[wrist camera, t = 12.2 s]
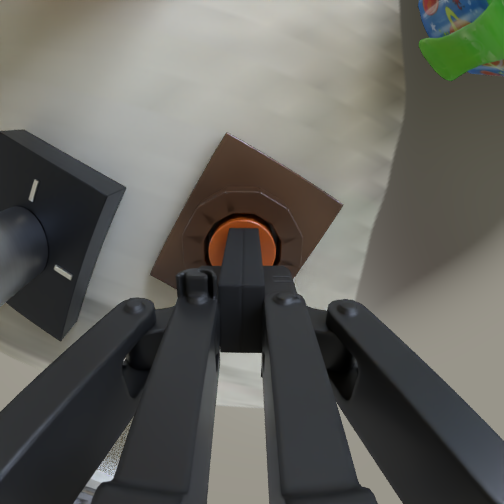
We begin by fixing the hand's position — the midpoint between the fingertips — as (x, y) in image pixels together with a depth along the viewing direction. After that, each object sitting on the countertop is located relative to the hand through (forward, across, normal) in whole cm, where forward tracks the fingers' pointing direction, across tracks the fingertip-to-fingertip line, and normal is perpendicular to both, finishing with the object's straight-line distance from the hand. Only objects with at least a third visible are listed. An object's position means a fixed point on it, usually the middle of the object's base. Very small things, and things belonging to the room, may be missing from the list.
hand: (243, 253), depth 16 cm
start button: (+2, 0, 0) cm, 2 cm away
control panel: (+4, -15, 0) cm, 15 cm away
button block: (+4, 0, 0) cm, 4 cm away
